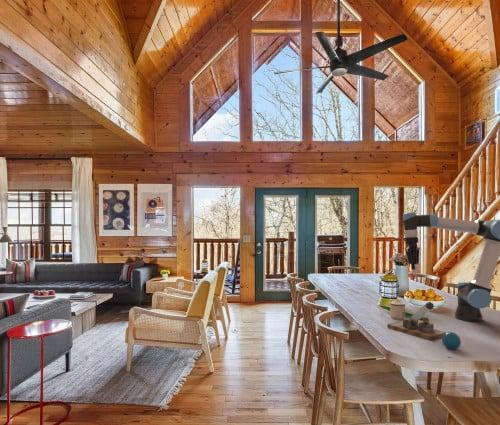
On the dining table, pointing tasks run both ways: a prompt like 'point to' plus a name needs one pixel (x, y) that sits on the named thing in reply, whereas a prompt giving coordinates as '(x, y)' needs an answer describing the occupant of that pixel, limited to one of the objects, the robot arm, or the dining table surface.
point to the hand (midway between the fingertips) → (414, 274)
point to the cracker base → (417, 328)
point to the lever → (421, 312)
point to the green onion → (405, 313)
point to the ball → (451, 340)
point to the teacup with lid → (397, 309)
